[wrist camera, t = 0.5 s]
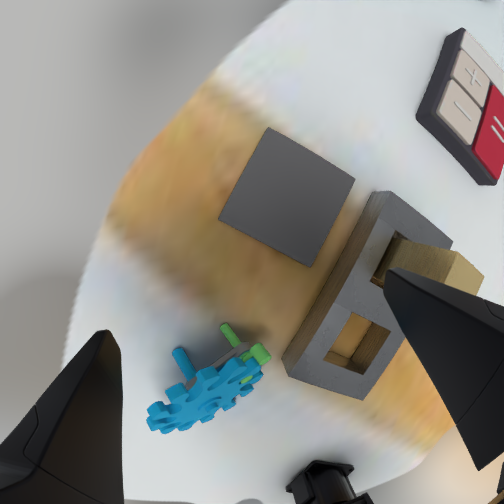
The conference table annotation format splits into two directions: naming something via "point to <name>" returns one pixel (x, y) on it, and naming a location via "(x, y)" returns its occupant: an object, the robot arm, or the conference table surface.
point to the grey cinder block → (358, 302)
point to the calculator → (467, 107)
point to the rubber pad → (287, 197)
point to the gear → (209, 385)
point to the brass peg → (430, 264)
